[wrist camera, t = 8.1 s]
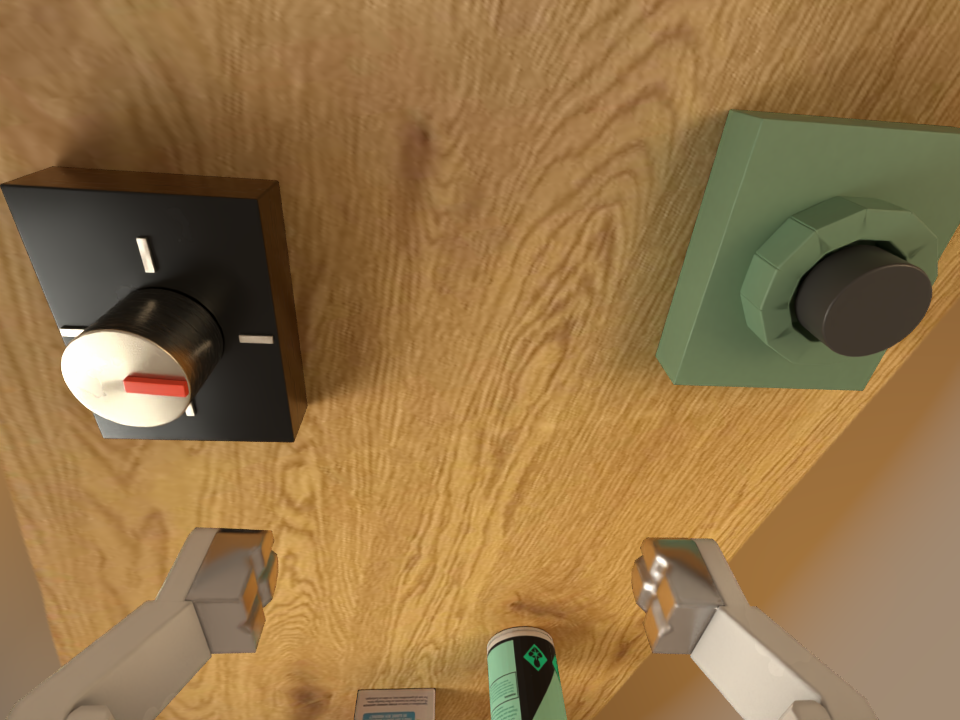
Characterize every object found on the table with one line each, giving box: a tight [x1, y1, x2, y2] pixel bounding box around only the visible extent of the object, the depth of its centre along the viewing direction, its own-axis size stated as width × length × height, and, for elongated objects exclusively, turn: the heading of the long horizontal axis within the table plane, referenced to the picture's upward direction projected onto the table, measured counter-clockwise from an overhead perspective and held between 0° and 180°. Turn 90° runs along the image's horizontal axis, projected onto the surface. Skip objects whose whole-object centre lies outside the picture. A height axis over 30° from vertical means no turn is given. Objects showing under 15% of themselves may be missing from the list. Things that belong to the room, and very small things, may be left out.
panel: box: [0, 166, 308, 442], centre depth 23 cm, size 12×9×3 cm
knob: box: [61, 289, 223, 427], centre depth 20 cm, size 4×4×4 cm
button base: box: [656, 109, 960, 391], centre depth 23 cm, size 12×10×4 cm
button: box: [794, 245, 932, 357], centre depth 21 cm, size 4×4×2 cm
